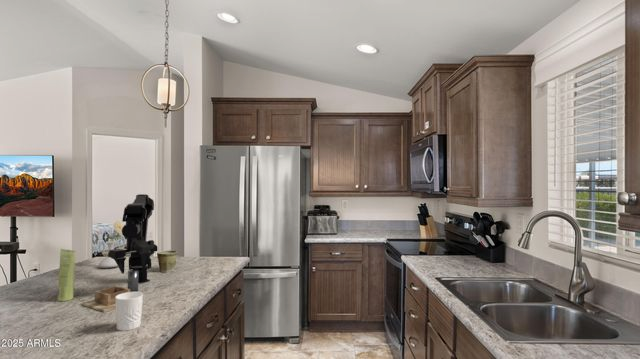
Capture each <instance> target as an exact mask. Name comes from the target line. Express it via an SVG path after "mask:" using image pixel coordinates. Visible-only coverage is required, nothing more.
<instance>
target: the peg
mask: <svg viewBox="0 0 640 359" xmlns="http://www.w3.org/2000/svg"><path fill="white" fill-rule="evenodd" d="M138 279H139V270H129V269H128V271H127V289H130V292H139V284H138Z"/></svg>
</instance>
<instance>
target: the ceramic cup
mask: <svg viewBox="0 0 640 359" xmlns="http://www.w3.org/2000/svg"><path fill="white" fill-rule="evenodd" d="M156 252H157V261H158V268H159V272H160V273H167V274H168V273H172V272H174V271H175V268H176V263H177V259H178V254H179V252H178V250H174V249H172V250H169V249H168V250H162V251H156Z"/></svg>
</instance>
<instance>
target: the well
mask: <svg viewBox="0 0 640 359" xmlns="http://www.w3.org/2000/svg"><path fill="white" fill-rule="evenodd" d="M126 292H130V289H128V287H123V286H120V285H115V286H111V287H108V288H103V289H99V290H95V291H94V299H93V300H92V299H91V300H89V301H84V302H82V306H84V307H88V308H90V309H93V310H97V311H99V312H103V313H105V312H108V311H109V312H111V311H112V310H116V308H115V297H116V296H117V295H119V294H122V293H126Z"/></svg>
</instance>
